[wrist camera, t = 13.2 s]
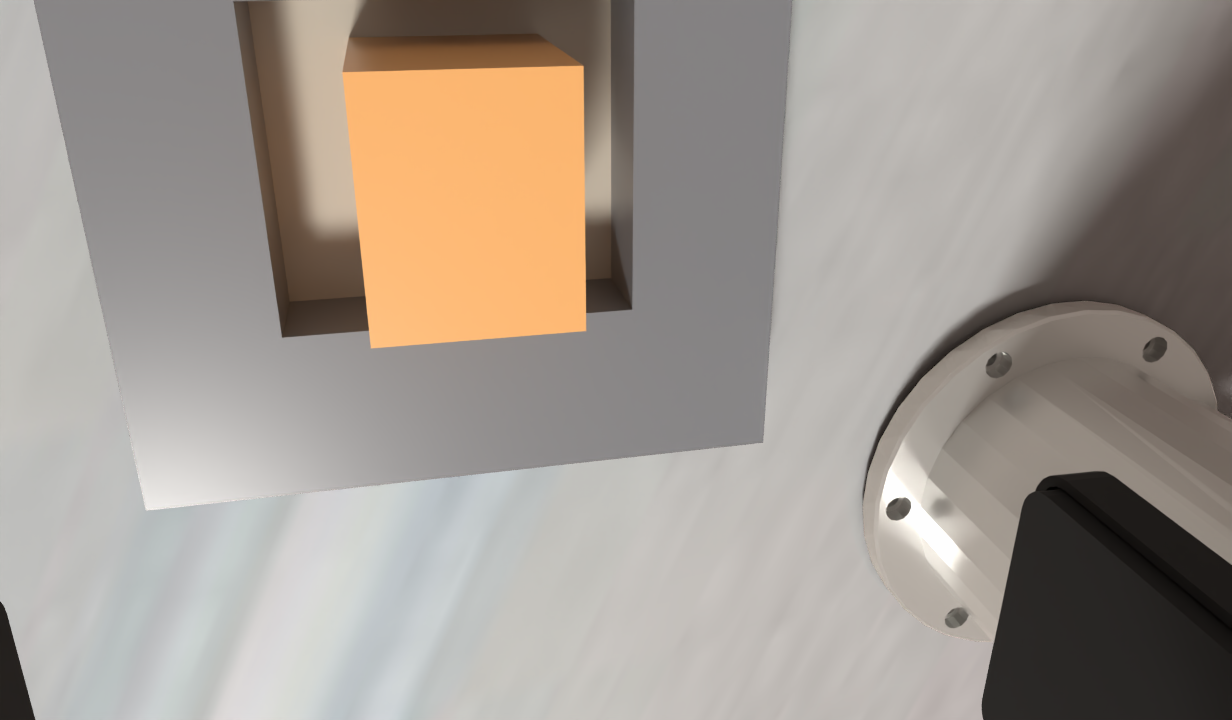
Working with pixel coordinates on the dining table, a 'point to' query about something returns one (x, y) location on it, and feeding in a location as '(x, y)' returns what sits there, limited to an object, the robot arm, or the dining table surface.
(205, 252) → the socket plate
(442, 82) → the plug
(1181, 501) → the robot arm
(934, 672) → the dining table surface
